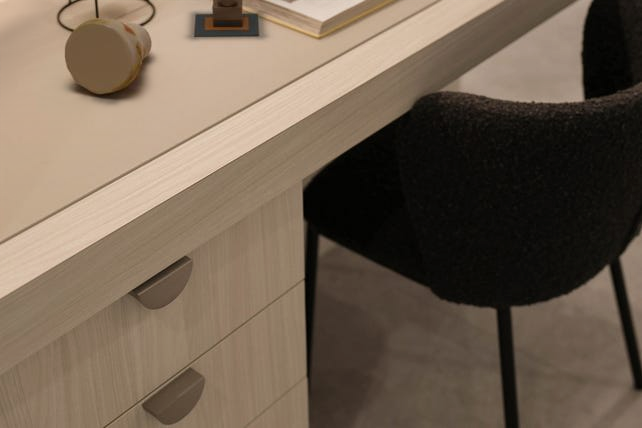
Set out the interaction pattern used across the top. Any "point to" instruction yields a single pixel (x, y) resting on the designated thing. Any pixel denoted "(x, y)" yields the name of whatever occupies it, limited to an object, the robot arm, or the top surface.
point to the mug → (106, 54)
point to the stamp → (227, 13)
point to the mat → (208, 30)
